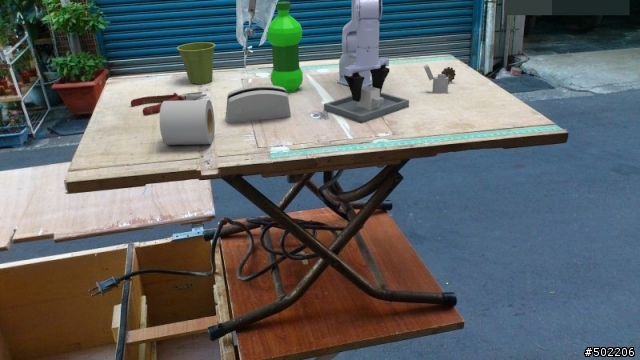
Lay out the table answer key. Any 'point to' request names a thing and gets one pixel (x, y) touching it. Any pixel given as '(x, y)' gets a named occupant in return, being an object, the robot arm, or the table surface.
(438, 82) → the lighter
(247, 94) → the grey napkin holder
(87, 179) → the table surface
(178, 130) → the toilet paper
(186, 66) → the plant pot
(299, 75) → the plastic bottle
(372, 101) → the plug
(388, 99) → the tray
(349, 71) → the robot arm
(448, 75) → the gear
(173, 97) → the pliers
